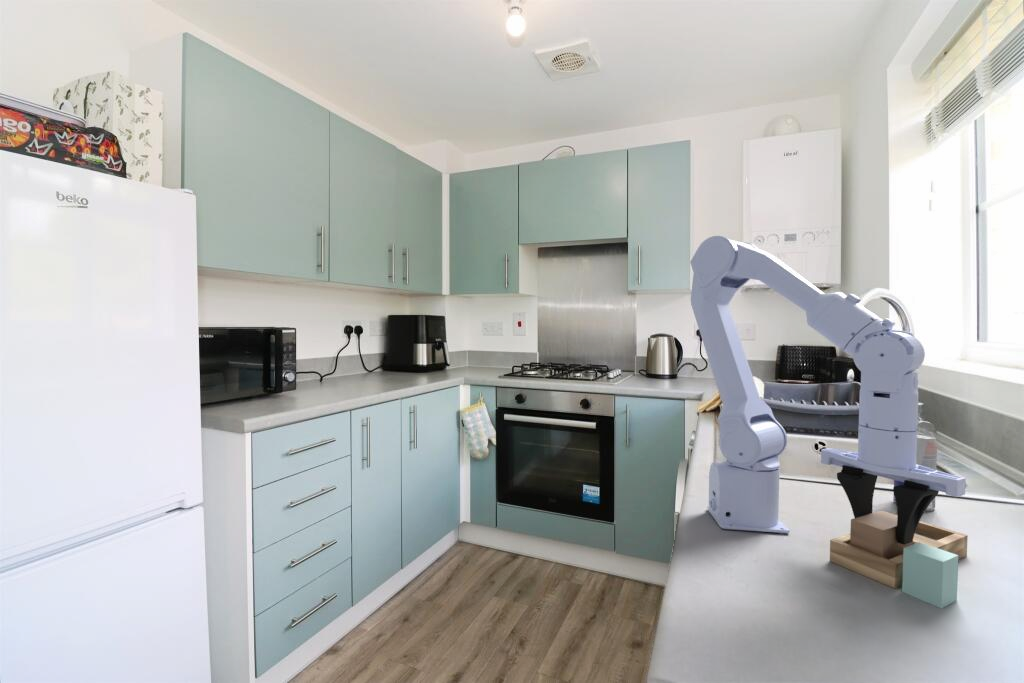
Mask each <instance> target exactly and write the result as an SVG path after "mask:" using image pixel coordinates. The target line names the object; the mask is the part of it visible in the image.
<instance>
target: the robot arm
mask: <svg viewBox="0 0 1024 683" xmlns="http://www.w3.org/2000/svg"><path fill="white" fill-rule="evenodd" d="M689 263H690V266H691V269H692V272H693V277H692V283H691V284H692V285H691V293H690V305H691V308H692V311H693V314H694V319H695V320H696V324H697V327H698V330H699V334H700V337H701V339H702V342H703V346H704V349H705V353H706V356H707V359H708V363H709V364H710V368H711V371H712V375H713V378H714V381H715V385H716V388H717V390H718V394H719V397H720V400H721V403H722V407H721V410H720V412H719V413H718V417H717V424H718V426H719V427H718V428H719V435H718V436H719V437H718V446H719V450H720V452H721V454H722V456H723V457H724V459H725V460H724V461H720V462H718V461H717V462H716V461H715V462H712V463H710V467H709V473H708V474H709V475H708V476H709V477H708V505H707V509H706V510H708V512H709V513H710V515H711V516H712V518H713V519H714V520H715V521H716V523H717V525H718V526H719V528H721V529H724V530H736V531H748V532H749V531H750V532H765V533H766V532H767V533H780V534H789V533H790V529H789V528H788V527H787V526H786V525H785V524H784V522H782V520H780V519H779V509H780V508H779V506H780V505H779V504H780V469H781V468H780V467H781V466H780V465H781V464H780V460H779V456H780V455H782V454H783V452H784V451H785V450H786V448H787V447H788V434H787V432H786V430H785V428H784V427H783V425H781V424H780V422H779V421H778V420H777V419H776V418H775V416H774V413H773V410H772V408H771V406H769V405H768V404H767V403H766V402H765V401H764V400H763V399H762V398H761V397H760V395H759V391H758V387H757V386H756V383H755V380H754V376H753V373H752V370H751V367H750V365H749V362H748V358H747V356H746V353H745V349H744V346H743V344H742V340H741V337H740V334H739V332H738V329H737V326H736V323H735V319H734V317H733V314H732V311H731V308H730V305H729V304H730V302H731V301H732V299H733V298H734V296H735V295H736V293H737V292H738V291H739V290H740V289H741V288H742V287H743V286H744V285H746V283H748V282H749V281H750V280H755V281H756V280H757V281H760V282H762V283H763V284H764V285H766V286H767V287H769V288H770V289H771V290H774V291H775V292H776V293H778V294H779V295H781V296H783V297H784V298H785V299H787V300H788V301H790V302H792V303H793V304H794V305H796V306H797V307H798V308H800V309H802V310H804V312H805V315H806V322H807V325H808V326H809V328H810V327H811V328H812V329H813V330H814V331H815V332H817V333H818V334H820V335H821V336H822V337H824V338H825V339H827V341H828V342H830V343H832V344H834V345H835V346H836V347H838V348H839V349H840V350H841V351H842V352H844V353H845V354H847V355H848V356H849V355H852V359H853V362H854V364H855V366H856V368H857V369H858V370H859V371H860V389H859V401H858V402H859V404H858V407H859V408H858V411H859V412H858V427H857V428H858V432H857V433H858V434H857V437H858V438H857V452H854V451H848V450H841V449H836V448H831V447H827V448H822V449H821V450H820V464H824V465H826V466H827V465H829V466H830V465H833V466H836V467H841V471H840V472H839V471H838V472H837V473H836V479H837V480H838V483H840V485H841V487H842V489H843V490H844V492H845V495H846V497H847V499H848V501H849V504H850V507H851V509H852V514H853V517H854V518H857V517H861V516H864V515H867V514H871V513H873V501H874V500H873V499H874V493H875V488H876V485H877V480H878V477H880V478H885V479H889V480H893V481H894V480H896V481H900V482H904V485H899V486H895V487H894V486H893V487H892V490H893V496H894V495H895V500H896V503H895V505H896V515H897V543H900V544H903V545H905V544H908V543H911V542H912V541H913V537H914V534H915V531H916V528H917V525H918V523H919V521H921V519H922V517H923V515H924V513H925V512H926V511H925V510H926V509H927V507H928V506H929V504H930V503H931V502H932V500H933V499H934V498H935V499H936V497H937V496H938V495H939V493H940V492H941V493H945V495H946V496H950V497H955V498H959V497H963V496H965V495H966V480H967V478H966V477H963V476H959V475H955V474H950V473H947V472H944V471H940V470H938V469H936V470H934V469H931V468H927V467H924V466H920V465H917V464H916V454H917V433H918V420H919V418H918V416H919V398H920V397H919V395H920V394H919V392H918V385H919V379H918V377H919V376H918V375H919V374H918V372H915V371H917V370H918V369H919V368H920V367H921V366H922V364H923V363H924V361H925V357H926V355H925V353H926V352H925V349H924V346H923V344H922V343H921V342H920V340H919V339H917V338H916V337H915V336H914V334H913V333H912V332H909V331H905V330H898V329H894V330H893V327H894V326H895V325H896V323H895V321H893V320H891V319H890V318H884V319H882V318H881V317H880V316H878V315H877V314H875V313H874V312H872V311H871V310H869V309H867V308H865V307H864V306H863V305H862V304H859V303H860V302H861V301H862V298H860V297H859V296H857V295H856V294H853V293H848V294H846V293H843V292H841V291H836V292H830V293H828V292H827V293H825V292H824V291H822V290H820V288H818V287H816V286H815V284H813V283H812V282H810V281H808V280H807V279H805V277H803V276H802V275H800V274H799V273H798V272H796V271H795V270H793V269H792V268H791V267H790V266H788V265H787V264H785V263H784V262H783V261H781V259H778V257H776V256H774V255H773V254H771V253H769V252H768V251H765V250H763V249H761V248H760V249H759V248H758V247H756V245H755V244H752V243H750V242H741V241H737V240H734V239H729V238H728V237H726V236H722V235H713V236H710V237H708V238H706V239H705V240H703V241H702V242H701V243H700V244H699V246H698V247H697V250H695V253H694V254H693V256H692V258H691V260H690V262H689ZM854 518H853V519H854Z"/></svg>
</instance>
